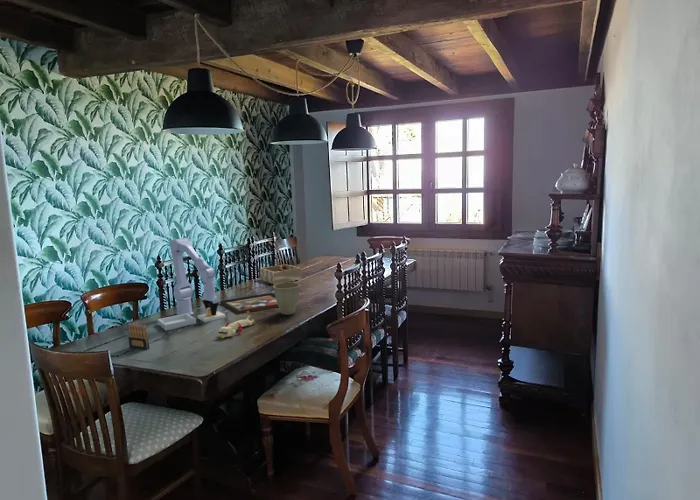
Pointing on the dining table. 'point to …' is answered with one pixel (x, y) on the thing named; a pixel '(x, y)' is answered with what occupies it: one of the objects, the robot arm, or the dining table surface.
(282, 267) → the bear figurine
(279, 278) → the display box
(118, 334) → the dining table surface
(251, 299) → the framed painting
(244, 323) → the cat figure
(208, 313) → the block
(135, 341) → the ammunition clip
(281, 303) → the plant pot
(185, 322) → the parts tray
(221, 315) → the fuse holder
